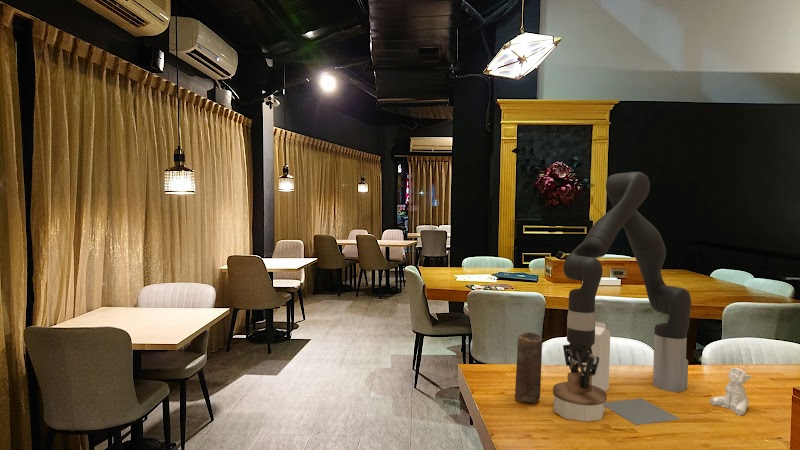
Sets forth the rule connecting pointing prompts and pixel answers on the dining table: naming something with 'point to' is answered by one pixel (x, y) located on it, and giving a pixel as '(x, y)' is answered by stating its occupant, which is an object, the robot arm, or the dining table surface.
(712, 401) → the sitting furry creature
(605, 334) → the milk
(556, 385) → the lid
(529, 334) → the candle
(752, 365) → the dining table surface
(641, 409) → the mat
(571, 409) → the bowl
